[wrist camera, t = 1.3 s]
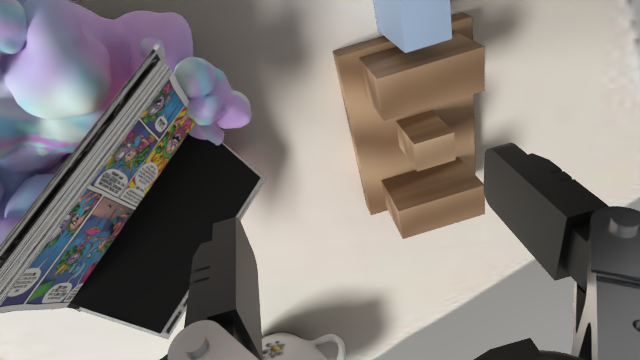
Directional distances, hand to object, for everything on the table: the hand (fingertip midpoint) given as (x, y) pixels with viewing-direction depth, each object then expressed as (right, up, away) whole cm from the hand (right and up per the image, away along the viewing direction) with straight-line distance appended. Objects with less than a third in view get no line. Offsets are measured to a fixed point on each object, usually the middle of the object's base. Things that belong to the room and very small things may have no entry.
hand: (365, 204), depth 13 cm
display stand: (+6, +6, +21) cm, 23 cm away
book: (-17, +6, +17) cm, 24 cm away
